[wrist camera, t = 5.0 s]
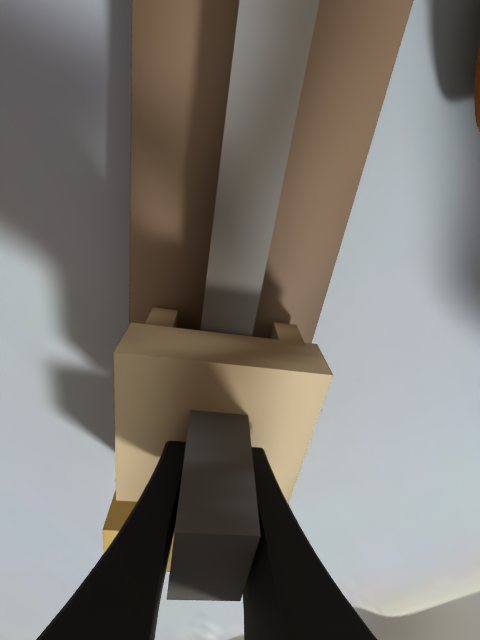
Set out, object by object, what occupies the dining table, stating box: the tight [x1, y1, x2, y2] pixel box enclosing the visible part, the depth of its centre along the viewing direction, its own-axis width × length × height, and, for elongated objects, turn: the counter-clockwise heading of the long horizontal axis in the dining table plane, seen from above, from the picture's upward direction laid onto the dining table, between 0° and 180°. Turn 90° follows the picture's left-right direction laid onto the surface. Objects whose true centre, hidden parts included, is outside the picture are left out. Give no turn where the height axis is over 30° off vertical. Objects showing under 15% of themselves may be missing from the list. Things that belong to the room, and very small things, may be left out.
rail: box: [103, 0, 413, 572], centre depth 11 cm, size 8×28×6 cm, turn 171°
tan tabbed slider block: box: [114, 307, 333, 601], centre depth 11 cm, size 7×7×8 cm
